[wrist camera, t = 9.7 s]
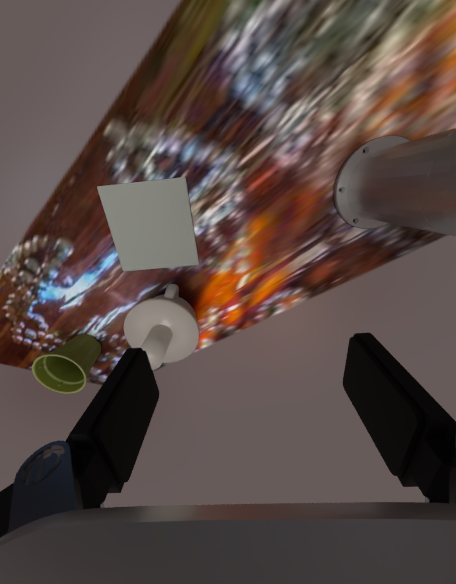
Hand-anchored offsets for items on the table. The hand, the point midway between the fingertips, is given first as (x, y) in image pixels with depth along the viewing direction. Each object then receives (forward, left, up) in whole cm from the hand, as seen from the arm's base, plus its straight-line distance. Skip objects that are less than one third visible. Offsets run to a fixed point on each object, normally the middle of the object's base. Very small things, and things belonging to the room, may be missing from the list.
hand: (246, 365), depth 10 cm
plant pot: (+34, +20, -30) cm, 50 cm away
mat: (+14, -3, -30) cm, 33 cm away
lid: (+13, +12, -22) cm, 29 cm away
